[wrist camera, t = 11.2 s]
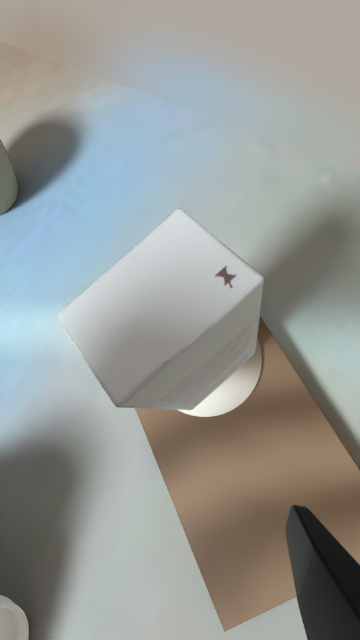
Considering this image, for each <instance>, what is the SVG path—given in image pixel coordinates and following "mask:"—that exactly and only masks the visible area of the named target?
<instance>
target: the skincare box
mask: <svg viewBox="0 0 360 640" xmlns="http://www.w3.org/2000/svg"><path fill="white" fill-rule="evenodd" d="M263 287H264V277H263V276H262V275H261V274H260V273H259V272H257V271H256V270H255V269H254V268H253V267H251V266H250V265H249V264H248V263H246V262H245V261H244V260H243V259H241V258H240V257H239V256H238V255H237V254H235V253H234V252H233V251H232V250H230V249H229V248H228V247H227V246H226V245H224V244H223V243H222V242H221V241H219V240H218V239H217V238H216V237H215V236H213V235H212V234H211V233H210V232H209V231H207V230H206V229H205V228H204V227H203V226H201V225H200V224H199V223H198V222H197V221H195V220H194V219H193V218H192V217H191V216H189V215H188V214H187V213H186V212H185V211H183V210H182V209H181V208H178V209H176V210H175V211H174V212H173V213H172V214H171V215H170V216H169V217H168V218H166V219H165V220H164V221H163V222H162V223H161V224H160V225H159V226H157V227H156V228H155V229H154V230H153V231H152V232H151V233H149V234H148V235H147V236H146V237H145V238H144V239H143V240H141V241H140V242H139V243H138V244H137V245H136V246H135V247H133V248H132V249H131V250H130V251H129V252H128V253H127V254H126V255H124V256H123V257H122V258H121V259H120V260H119V261H118V262H116V263H115V264H114V265H113V266H112V267H111V268H110V269H109V270H107V271H106V272H105V273H104V274H103V275H102V276H101V277H100V278H98V279H97V280H96V281H95V282H94V283H93V284H91V285H90V286H89V287H88V288H87V289H86V290H85V291H83V292H82V293H81V294H80V295H79V296H78V297H77V298H75V299H74V300H73V301H72V302H71V303H70V304H69V305H67V306H66V307H65V308H64V309H63V310H61V311H60V312H59V313H58V314H57V319H58V320H59V321H60V323H61V324H62V326H63V327H64V329H65V331H66V332H67V334H68V335H69V337H70V338H71V340H72V341H73V343H74V344H75V346H76V347H77V349H78V350H79V352H80V353H81V355H82V356H83V358H84V359H85V361H86V362H87V364H88V366H89V367H90V369H91V370H92V372H93V373H94V375H95V376H96V378H97V379H98V381H99V382H100V384H101V385H102V387H103V388H104V390H105V391H106V393H107V394H108V396H109V397H110V399H111V400H112V402H113V403H114V405H115V406H116V407H125V408H156V409H176V410H193V409H194V408H195V407H196V406H197V405H199V404H200V403H201V402H202V401H203V400H204V399H205V398H206V397H208V396H209V395H210V394H211V393H212V392H213V391H214V390H215V389H216V388H217V387H219V386H220V385H221V384H222V383H223V382H224V381H225V380H226V379H228V378H229V377H230V376H231V375H232V374H233V373H234V372H235V371H236V370H237V369H239V368H240V367H241V366H242V365H243V364H244V363H245V362H246V361H247V360H248V359H250V358H251V357H252V356H253V355H254V354H255V350H256V342H257V334H258V326H259V318H260V310H261V303H262V295H263Z"/></svg>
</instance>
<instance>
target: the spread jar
mask: <svg viewBox="0 0 360 640" xmlns="http://www.w3.org/2000/svg"><path fill="white" fill-rule="evenodd" d="M28 637H29V627H28V620H27V617H26V615H25V612H24V611H23V610H22V609H21V608H20V607H19V606H18V605H16V604H15V603H14V602H13V601H11V600H10V599H9V598H7V597H4V596H2V595H0V640H28Z"/></svg>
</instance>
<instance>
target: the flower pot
mask: <svg viewBox="0 0 360 640" xmlns="http://www.w3.org/2000/svg"><path fill="white" fill-rule="evenodd" d="M17 196H18V185H17V180H16V176H15V172H14V169H13V166H12V163H11V161H10V158H9V156H8V154H7V151H6V149H5V147H4V145H3V143H2V141H1V140H0V215H1V214H3V213H5V212H6V211H7V210H9V209H10V208H11V207H12V205H13V204H14V203H15V201H16V199H17Z"/></svg>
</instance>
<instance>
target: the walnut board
mask: <svg viewBox="0 0 360 640" xmlns="http://www.w3.org/2000/svg"><path fill="white" fill-rule="evenodd" d="M135 409H136V411H137V414H138V416H139V419H140V421H141V424H142V426H143V429H144V431H145V434H146V436H147V439H148V441H149V444H150V446H151V449H152V451H153V454H154V456H155V459H156V461H157V464H158V466H159V469H160V471H161V474H162V476H163V479H164V481H165V484H166V486H167V489H168V491H169V494H170V496H171V499H172V501H173V504H174V506H175V509H176V511H177V514H178V516H179V519H180V521H181V524H182V526H183V529H184V531H185V534H186V536H187V539H188V541H189V544H190V546H191V549H192V551H193V554H194V556H195V559H196V561H197V564H198V566H199V569H200V572H201V574H202V577H203V579H204V582H205V584H206V587H207V589H208V592H209V594H210V597H211V599H212V602H213V604H214V607H215V609H216V612H217V614H218V617H219V619H220V622H221V624H222V627H223V629H224V632H225V631H227V630H229V629H231V628H233V627H235V626H237V625H239V624H241V623H243V622H245V621H247V620H249V619H252V618H254V617H256V616H258V615H260V614H262V613H264V612H266V611H268V610H270V609H272V608H274V607H276V606H278V605H280V604H282V603H284V602H286V601H289V600H291V599H293V598H295V597H297V596H296V591H295V585H294V579H293V574H292V568H291V562H290V557H289V551H288V546H287V540H286V533H285V528H286V523H287V519H288V515H289V512H290V508H291V506H292V505H300V506H306V507H307V508H309V509H310V511H311V512H312V513H313V514H314V515H315V516H316V517H317V518H318V519H319V520H320V522H321V523H322V524H323V525H324V526H325V527H326V528H327V529H328V530H329V531H330V533H331V534H332V535H333V536H334V537H335V538H336V539H337V540H338V541H339V543H340V544H341V545H342V546H343V547H344V548H345V549H346V550H347V551H348V552H349V554H350V555H351V556H352V557H353V558H354V559H355V560H356V561H357V562H358V563H359V565H360V470H359V469H358V467H357V466H356V464H355V463H354V461H353V460H352V458H351V456H350V455H349V453H348V452H347V450H346V449H345V447H344V446H343V444H342V443H341V441H340V439H339V438H338V436H337V435H336V433H335V432H334V430H333V429H332V427H331V425H330V424H329V422H328V421H327V419H326V418H325V416H324V415H323V413H322V412H321V410H320V408H319V407H318V405H317V404H316V402H315V401H314V399H313V398H312V396H311V394H310V393H309V391H308V390H307V388H306V387H305V385H304V384H303V382H302V381H301V379H300V377H299V376H298V374H297V373H296V371H295V370H294V368H293V367H292V365H291V363H290V362H289V360H288V359H287V357H286V356H285V354H284V353H283V351H282V350H281V348H280V346H279V345H278V343H277V342H276V340H275V339H274V337H273V336H272V334H271V332H270V331H269V329H268V328H267V326H266V325H265V323H264V322H263V320H262V319H261V317H260V318H259V326H258V334H257V342H256V350H255V354H254V355H253V356H252V357H251V358H250V359H248V360H247V361H246V362H245V363H244V364H243V365H242V366H241V367H240V368H239V369H237V370H236V371H235V372H234V373H233V374H232V375H231V376H230V377H229V378H228V379H226V380H225V381H224V382H223V383H222V384H221V385H220V386H219V387H217V388H216V389H215V390H214V391H213V392H212V393H211V394H210V395H209V396H208V397H206V398H205V399H204V400H203V401H202V402H201V403H200V404H199V405H197V406H196V407H195V408H194V409H193V410H176V409H156V408H135Z"/></svg>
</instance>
